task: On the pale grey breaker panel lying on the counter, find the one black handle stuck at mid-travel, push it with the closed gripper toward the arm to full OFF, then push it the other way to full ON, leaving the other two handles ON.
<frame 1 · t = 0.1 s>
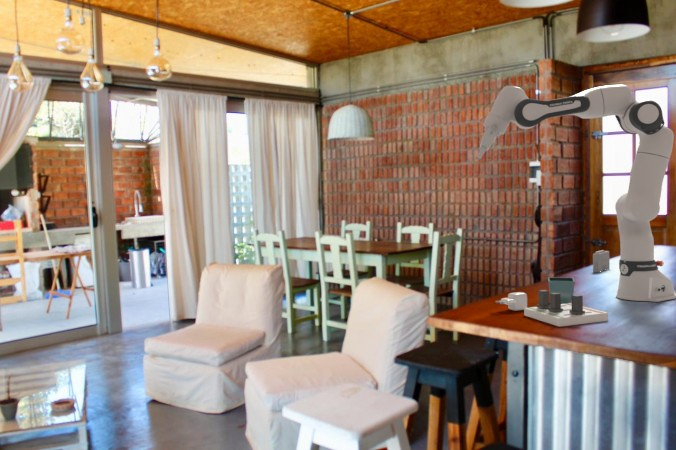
hand: (478, 158, 226), 54 cm above the table, tool tilted 30°, fingers open, 8 cm apart
power adapter: (511, 311, 204), on the table
breaker panel: (564, 317, 189), on the table
middle handle: (555, 302, 188), point 5 cm above the table, slide at 7.0 cm
flower pot: (561, 304, 212), on the table
cassette player: (601, 271, 288), on the table
tripped handle: (577, 304, 183), point 6 cm above the table, slide at 3.5 cm
far handle: (543, 299, 194), point 5 cm above the table, slide at 7.0 cm
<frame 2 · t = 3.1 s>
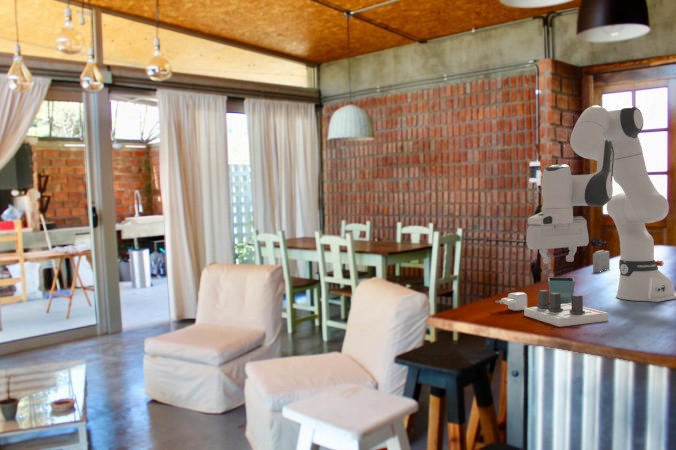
hand: (558, 262, 181), 19 cm above the table, tool pointing down, fingers open, 7 cm apart
nothing on the table moved.
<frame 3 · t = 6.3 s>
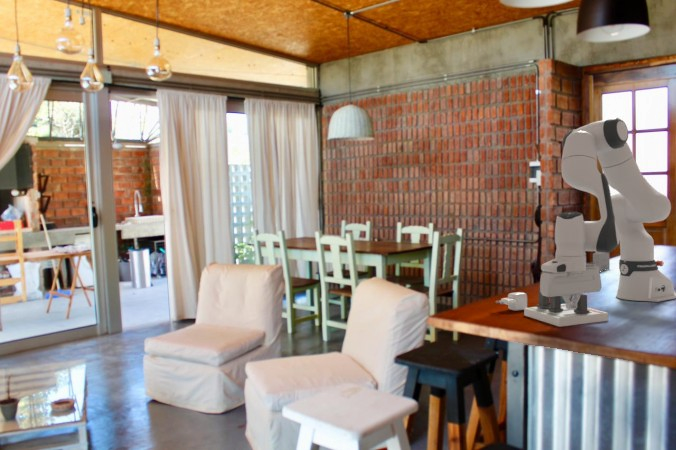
hand: (571, 308, 183), 4 cm above the table, tool pointing down, fingers closed
tripped handle: (581, 303, 184), point 6 cm above the table, slide at 1.8 cm, touching gripper
everything else where it was.
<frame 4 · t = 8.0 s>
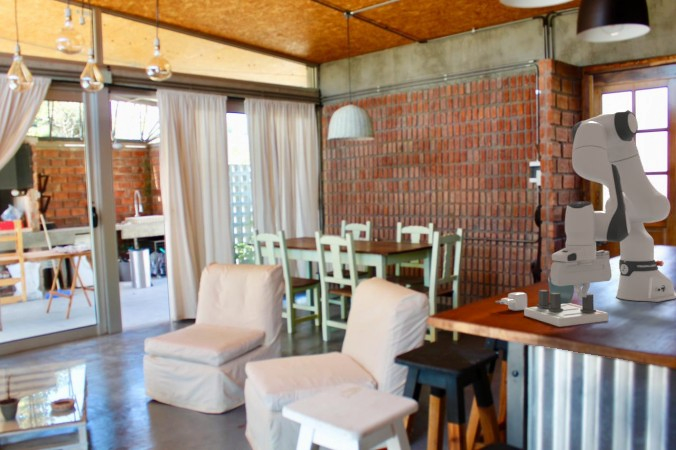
hand: (582, 297, 183), 7 cm above the table, tool pointing down, fingers closed
tripped handle: (587, 303, 184), point 5 cm above the table, slide at -0.5 cm, touching gripper
everything else where it was.
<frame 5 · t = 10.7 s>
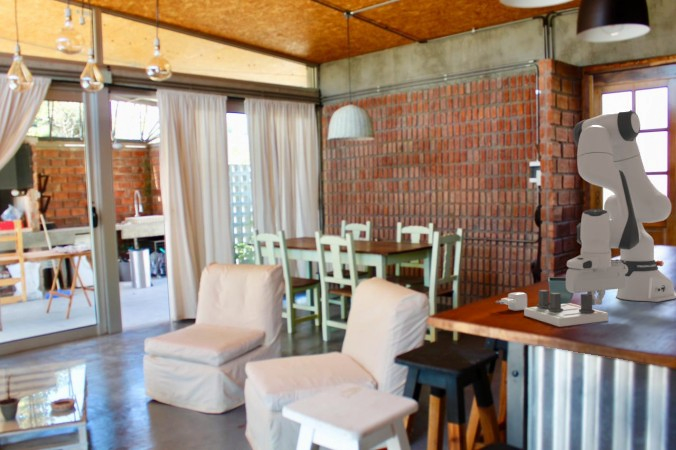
hand: (596, 304, 185), 5 cm above the table, tool pointing down, fingers closed
tripped handle: (586, 303, 184), point 6 cm above the table, slide at 0.0 cm, touching gripper
everything else where it was.
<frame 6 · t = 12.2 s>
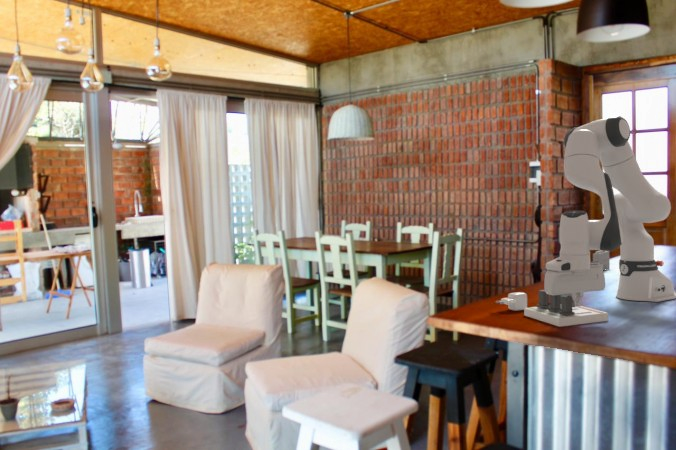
hand: (575, 306, 183), 5 cm above the table, tool pointing down, fingers closed
tripped handle: (566, 305, 182), point 5 cm above the table, slide at 7.4 cm, touching gripper
everything else where it was.
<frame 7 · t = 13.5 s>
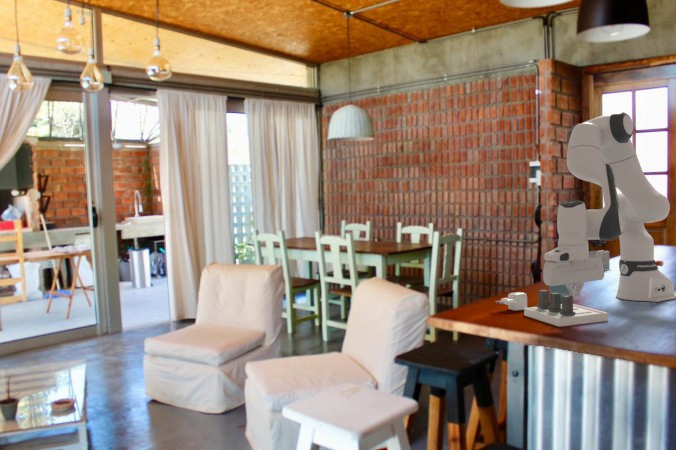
hand: (575, 297, 182), 8 cm above the table, tool pointing down, fingers closed
tripped handle: (567, 305, 182), point 6 cm above the table, slide at 7.1 cm
everything else where it was.
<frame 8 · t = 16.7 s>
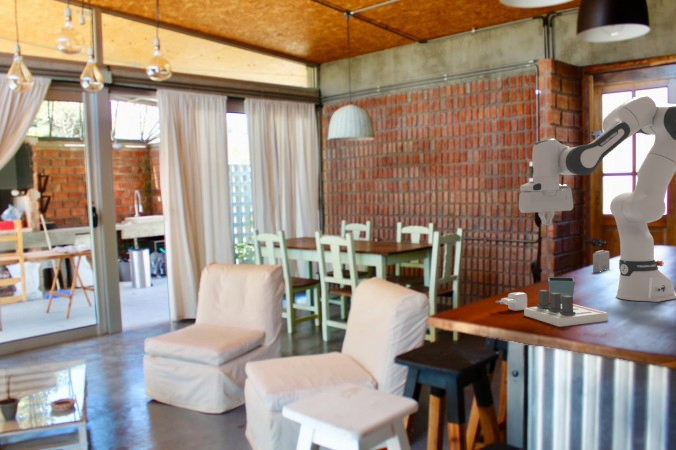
hand: (546, 224, 207), 29 cm above the table, tool pointing down, fingers closed
nothing on the table moved.
at the end: tripped handle slide at 7.1 cm; middle handle slide at 7.0 cm; far handle slide at 7.0 cm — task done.
